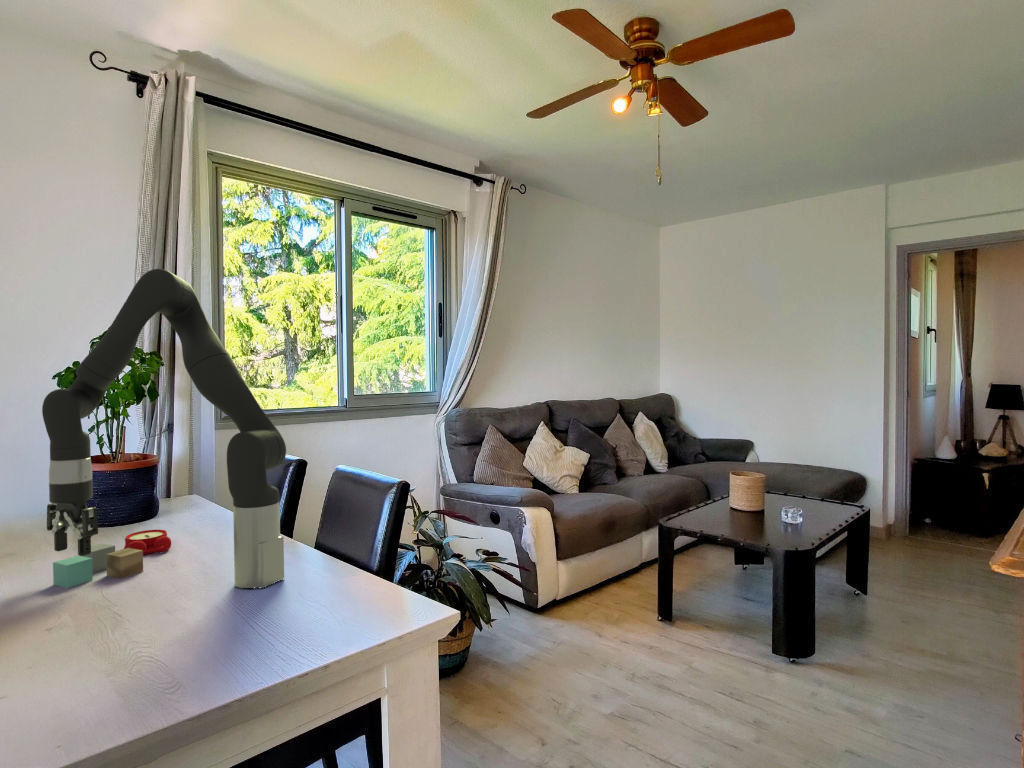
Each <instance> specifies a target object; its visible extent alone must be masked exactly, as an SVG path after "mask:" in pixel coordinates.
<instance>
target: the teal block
mask: <svg viewBox="0 0 1024 768" xmlns="http://www.w3.org/2000/svg"><path fill="white" fill-rule="evenodd" d="M52 574H53V575H52V577H53V578H52V579H53V585H54V586H56V585H57V587H60V586H62V587H61V588H65V587H67V588H66V589H69V588H68V587H70V588H73V587H76V586H79V585H82V584H85V582H86V583H88V581H89V582H92V581H93V577H94V576H93V573H92V558H88V557H83V556H79V555H76V556H72V557H68V558H65V559H60V560H57V561H54V562H52ZM81 583H82V584H81ZM78 584H79V585H78ZM75 585H76V586H75ZM72 586H73V587H72Z"/></svg>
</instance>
